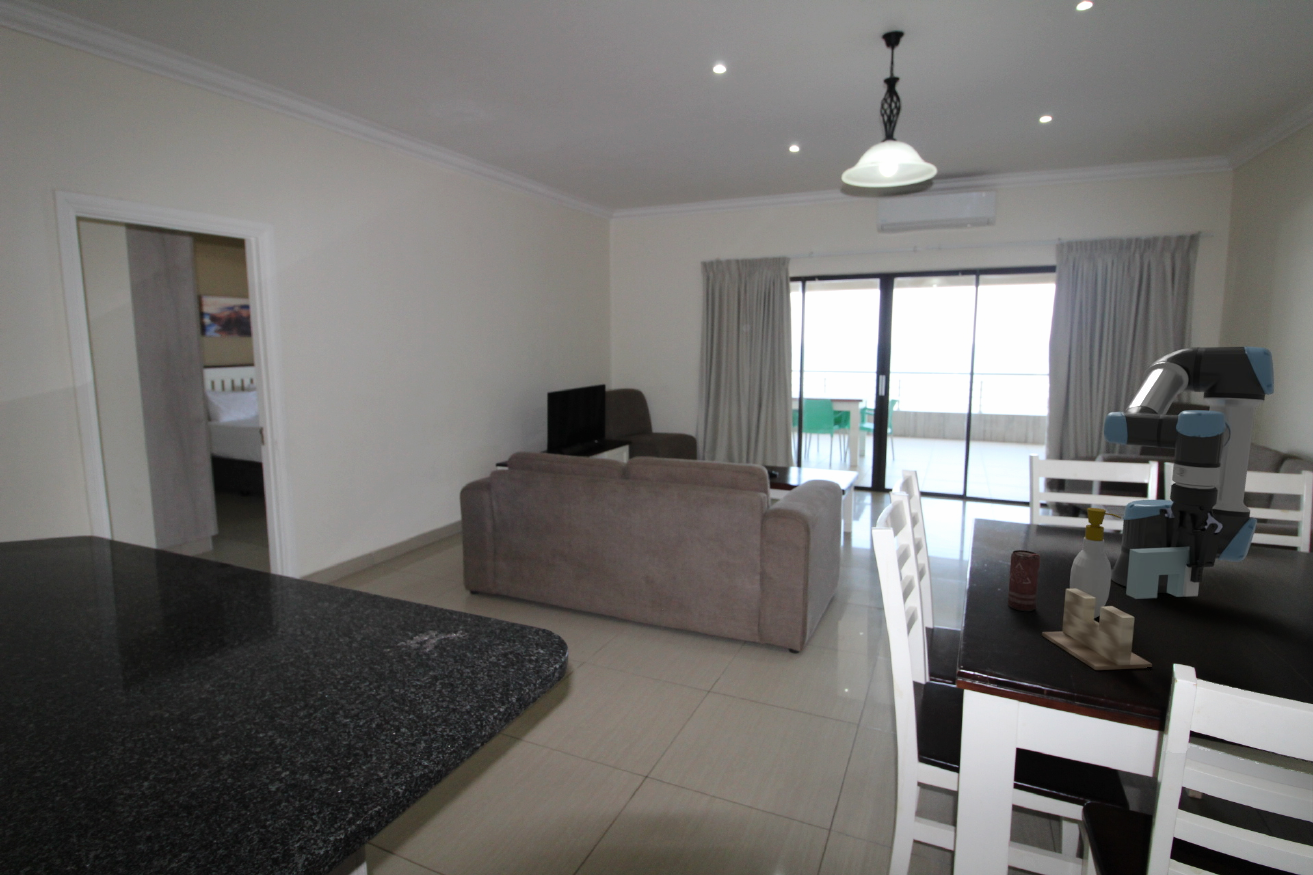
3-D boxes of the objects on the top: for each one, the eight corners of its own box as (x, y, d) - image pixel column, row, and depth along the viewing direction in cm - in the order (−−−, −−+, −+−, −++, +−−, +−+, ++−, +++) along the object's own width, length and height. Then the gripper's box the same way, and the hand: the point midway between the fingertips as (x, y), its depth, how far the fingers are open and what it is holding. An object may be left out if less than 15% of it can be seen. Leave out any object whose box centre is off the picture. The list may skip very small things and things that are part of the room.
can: (1040, 612, 157) (1044, 557, 155) (1012, 610, 158) (1016, 555, 157) (1031, 603, 163) (1035, 550, 161) (1004, 601, 164) (1007, 548, 162)
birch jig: (1042, 635, 144) (1045, 589, 143) (1092, 633, 145) (1096, 587, 144) (1095, 669, 129) (1100, 618, 127) (1151, 667, 130) (1156, 616, 128)
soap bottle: (1109, 627, 148) (1119, 517, 145) (1063, 617, 154) (1072, 511, 151) (1114, 608, 159) (1124, 506, 156) (1072, 600, 165) (1080, 501, 162)
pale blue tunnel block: (1187, 591, 138) (1191, 546, 137) (1197, 595, 136) (1202, 550, 135) (1126, 594, 137) (1130, 549, 136) (1135, 598, 135) (1139, 552, 134)
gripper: (1146, 477, 141) (1136, 580, 144) (1212, 493, 126) (1200, 607, 129) (1178, 476, 142) (1168, 578, 145) (1248, 492, 126) (1234, 606, 130)
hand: (1183, 592), depth 137 cm, fingers closed on pale blue tunnel block, 2 cm apart
